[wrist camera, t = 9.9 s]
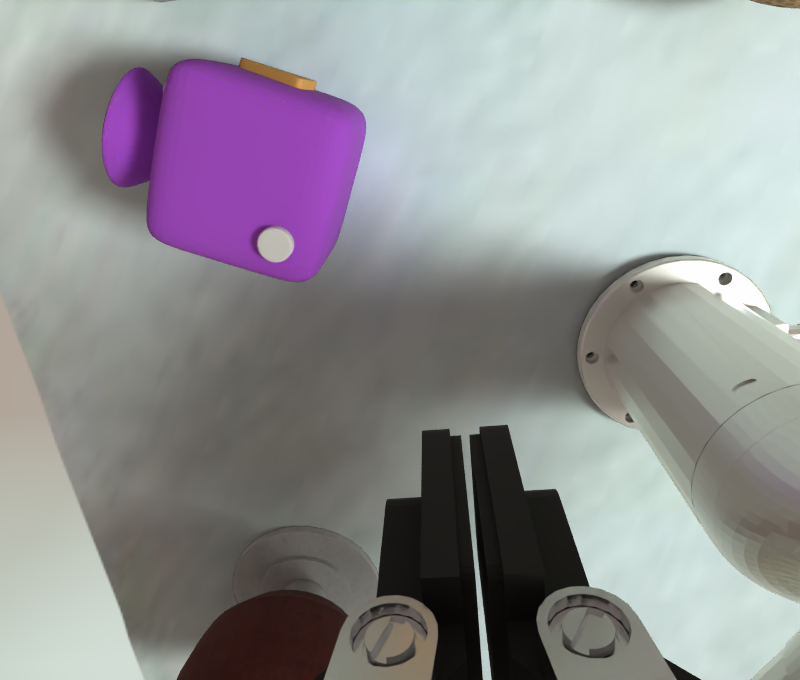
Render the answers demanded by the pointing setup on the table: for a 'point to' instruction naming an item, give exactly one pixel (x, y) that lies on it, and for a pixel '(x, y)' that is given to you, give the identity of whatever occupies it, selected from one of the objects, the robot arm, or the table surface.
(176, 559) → the table surface
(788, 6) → the natural sponge
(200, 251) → the toy camera
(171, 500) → the table surface
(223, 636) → the mate gourd
